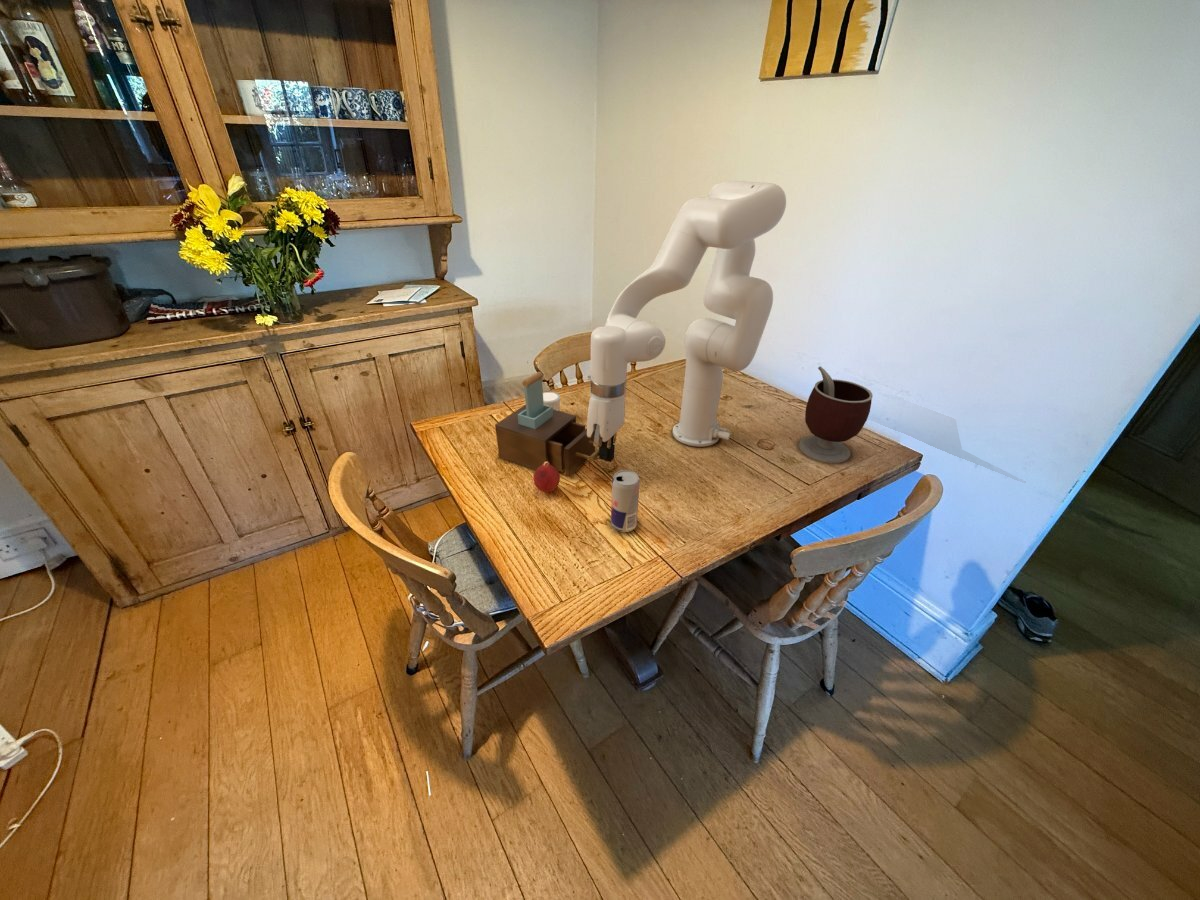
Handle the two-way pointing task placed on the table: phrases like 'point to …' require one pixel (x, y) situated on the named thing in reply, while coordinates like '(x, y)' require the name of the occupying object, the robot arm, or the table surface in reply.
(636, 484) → the energy drink
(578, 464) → the drawer
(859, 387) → the mate gourd
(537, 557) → the table surface
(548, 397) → the brown white round container
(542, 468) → the onion
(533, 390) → the caddy
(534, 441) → the cabinet
